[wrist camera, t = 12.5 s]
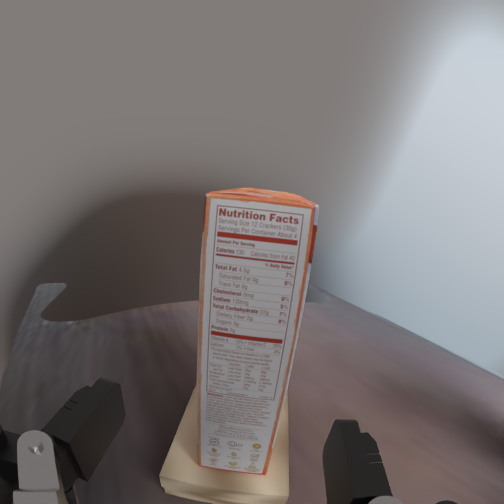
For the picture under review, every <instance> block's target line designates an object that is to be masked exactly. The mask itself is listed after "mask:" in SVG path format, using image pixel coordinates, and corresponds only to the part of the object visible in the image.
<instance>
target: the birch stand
mask: <svg viewBox="0 0 504 504" xmlns="http://www.w3.org/2000/svg"><path fill="white" fill-rule="evenodd" d="M159 477H160V482H161V487H164V490H165V493H167V494H171V495H175V496H179V497H183V498H188V499H192V500H197V501H202V502H207V503H213V504H285V503H286V501H287V499H288V497H289V438H288V394H287V393H286V397H285V401H284V405H283V410H282V414H281V418H280V422H279V427H278V431H277V435H276V439H275V443H274V447H273V451H272V455H271V459H270V462H269V466H268V470H267V474H266V475H259V474H249V473H240V472H233V471H226V470H220V469H214V468H208V467H203V466H199V465H198V442H197V383H196V385H195V388H194V390H193V393H192V395H191V398H190V400H189V403H188V405H187V407H186V410H185V412H184V415H183V417H182V420H181V422H180V425H179V427H178V430H177V432H176V435H175V437H174V440H173V442H172V445H171V447H170V450H169V452H168V455H167V457H166V460H165V462H164V465H163V467H162V470H161V472H160V474H159Z"/></svg>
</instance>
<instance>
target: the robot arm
mask: <svg viewBox="0 0 504 504" xmlns="http://www.w3.org/2000/svg"><path fill="white" fill-rule="evenodd" d="M124 417H125V410H124V404H123V399H122V393H121V387H120V384H119V383H116V382H113V381H110V380H107V379H104V378H100V379H98V380H97V381H96V383H95V384H94V385H93V386H92V387H89V386H86V387H84V388H82V389H80V390H78V391H76V392H75V393H74V395H73V396H72V397H71V398H70V399H69V401H67V402H66V403H65V405H64V407H62V408H61V409H60V410H59V411H58V412H57V414H56V415H55V416H54V417H53V418H52V419H51V420H50V421H49V423H48V424H47V425H46V426H45V427H44V428H43V429H42V430H41V431H37V430H32V431H28V432H25V433H24V434H22V435H18V434H14V433H11V432H7V431H4V430H3V429H2V427H1V425H0V504H12V503H13V502H14V504H80V503H79V499H78V495H77V491H76V487H75V484H74V482H75V480H76V479H77V477H79V478H81V479H83V480H85V481H88V480H89V478H90V476H91V475H92V473H93V471H94V470H95V468H96V466H97V465H98V463H99V462H100V460H101V458H102V457H103V455H104V453H105V452H106V450H107V448H108V447H109V445H110V444H111V442H112V440H113V439H114V437H115V435H116V434H117V432H118V431H119V429H120V427H121V426H122V424H123V421H124ZM323 468H324V476H325V485H326V495H327V504H403V502H401V501H400V500H399V499H397V498H395V497H393V495H392V493H391V490H390V486H389V483H388V479H387V476H386V473H385V469H384V466H383V463H382V459H381V456H380V455H379V450H378V447H377V443H376V441H375V440H374V439H373V438H372V437H371V436H370V434H369V433H360V429H359V425H358V422H357V421H356V420H335V422H334V424H333V426H332V428H331V431H330V433H329V436H328V438H327V440H326V443H325V445H324V449H323ZM436 504H457V503H455V502H452V501H441V502H438V503H436Z"/></svg>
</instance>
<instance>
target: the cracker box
mask: <svg viewBox="0 0 504 504" xmlns="http://www.w3.org/2000/svg"><path fill="white" fill-rule="evenodd" d="M318 214H319V207H318V205H317V204H315V203H313V202H311V201H309V200H307V199H304V198H303V197H301V196H299V195H296V194H292V193H286V192H279V191H273V190H266V189H259V188H237V189H230V190H221V191H214V192H209V193H207V194H206V197H205V205H204V221H203V237H202V250H201V264H200V288H199V314H198V345H197V442H198V465H199V466H203V467H208V468H214V469H220V470H226V471H233V472H240V473H249V474H259V475H266V474H267V470H268V466H269V462H270V459H271V455H272V451H273V447H274V443H275V439H276V435H277V431H278V427H279V422H280V418H281V414H282V410H283V405H284V401H285V397H286V393H287V388H288V384H289V379H290V374H291V370H292V365H293V360H294V355H295V350H296V345H297V340H298V335H299V330H300V324H301V319H302V314H303V309H304V303H305V297H306V292H307V287H308V281H309V275H310V269H311V263H312V257H313V251H314V243H315V237H316V232H317V221H318Z"/></svg>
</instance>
